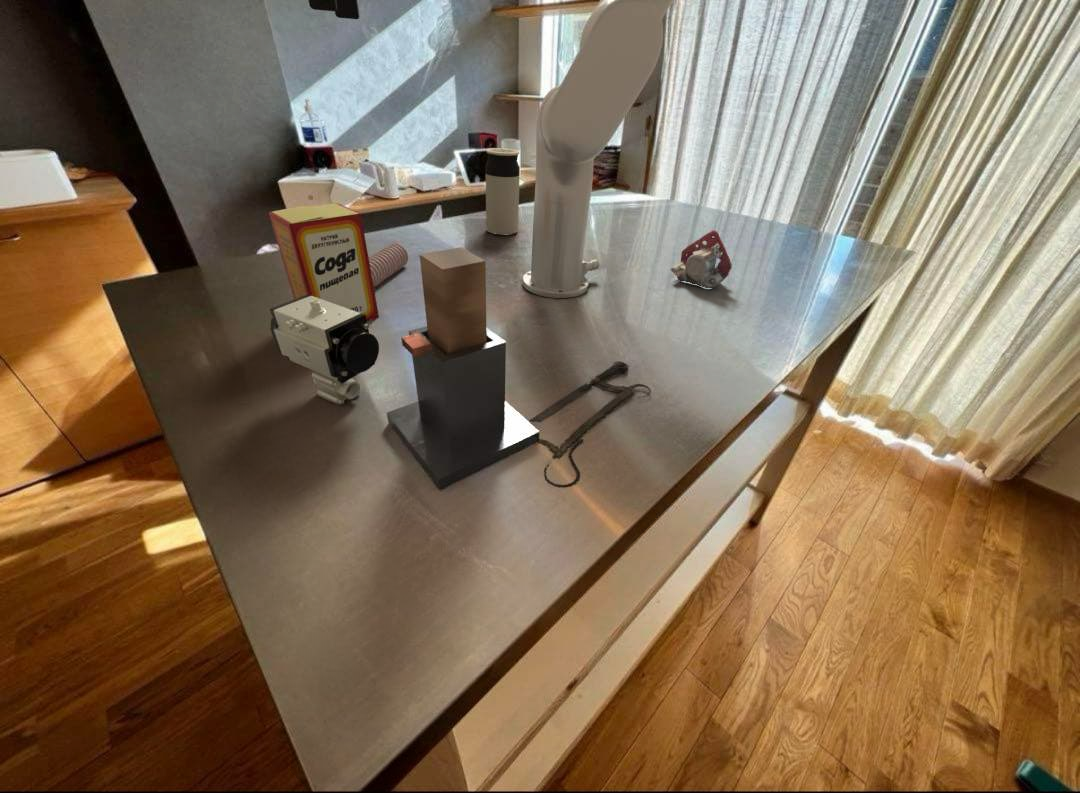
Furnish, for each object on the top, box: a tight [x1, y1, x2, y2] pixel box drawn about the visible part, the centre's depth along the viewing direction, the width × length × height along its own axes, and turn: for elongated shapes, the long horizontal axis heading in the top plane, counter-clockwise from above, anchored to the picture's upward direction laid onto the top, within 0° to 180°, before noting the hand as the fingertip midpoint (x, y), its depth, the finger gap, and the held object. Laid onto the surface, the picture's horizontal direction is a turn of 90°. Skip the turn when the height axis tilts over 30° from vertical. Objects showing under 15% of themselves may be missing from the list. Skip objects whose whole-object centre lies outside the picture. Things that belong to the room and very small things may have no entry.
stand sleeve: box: [386, 326, 540, 491], centre depth 44 cm, size 12×12×13 cm
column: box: [419, 246, 487, 356], centre depth 42 cm, size 4×4×18 cm
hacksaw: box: [527, 360, 651, 489], centre depth 52 cm, size 24×10×2 cm, turn 137°
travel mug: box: [485, 147, 521, 234], centre depth 104 cm, size 8×8×18 cm
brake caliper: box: [670, 229, 733, 289], centre depth 86 cm, size 11×10×11 cm
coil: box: [368, 242, 409, 288], centre depth 79 cm, size 5×5×18 cm
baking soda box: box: [268, 203, 380, 322], centre depth 63 cm, size 10×6×16 cm
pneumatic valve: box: [269, 294, 380, 406], centre depth 48 cm, size 6×12×12 cm, turn 61°
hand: (336, 14), depth 58 cm, fingers open, 9 cm apart
